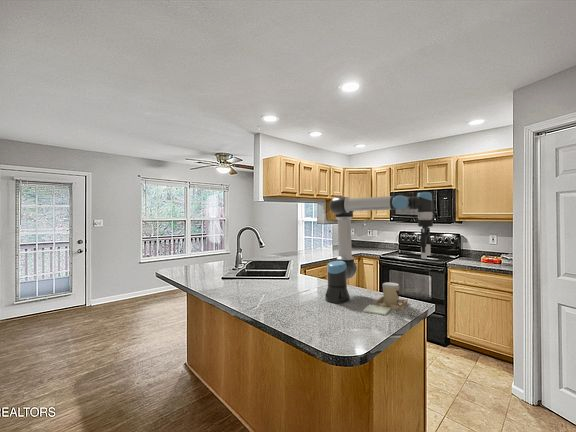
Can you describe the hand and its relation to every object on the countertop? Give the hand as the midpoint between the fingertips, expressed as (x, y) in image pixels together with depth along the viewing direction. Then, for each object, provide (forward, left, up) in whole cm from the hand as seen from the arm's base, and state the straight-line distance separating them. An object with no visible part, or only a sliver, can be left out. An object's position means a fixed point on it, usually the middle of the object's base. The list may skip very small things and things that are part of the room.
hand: (426, 257), depth 164 cm
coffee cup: (-18, -7, -28) cm, 34 cm away
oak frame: (-18, -7, -28) cm, 34 cm away
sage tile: (-22, -21, -28) cm, 41 cm away
